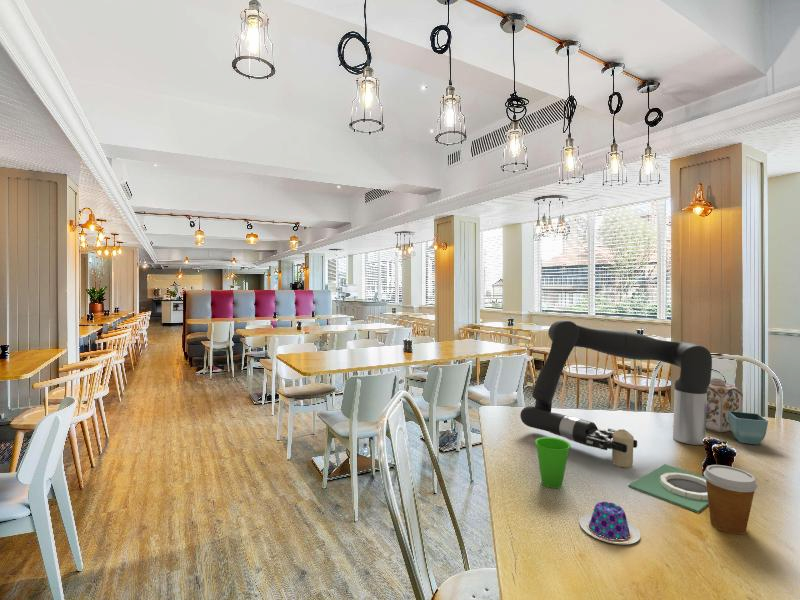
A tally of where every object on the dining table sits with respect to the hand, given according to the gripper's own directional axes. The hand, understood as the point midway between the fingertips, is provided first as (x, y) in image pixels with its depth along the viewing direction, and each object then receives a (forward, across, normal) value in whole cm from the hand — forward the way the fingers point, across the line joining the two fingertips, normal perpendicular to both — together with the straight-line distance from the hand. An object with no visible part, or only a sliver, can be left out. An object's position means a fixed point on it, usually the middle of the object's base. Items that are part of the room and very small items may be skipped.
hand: (631, 446), depth 126 cm
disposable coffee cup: (+27, -14, +6) cm, 31 cm away
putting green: (+13, -2, +6) cm, 15 cm away
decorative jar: (+1, +63, +6) cm, 63 cm away
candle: (-3, 0, +6) cm, 7 cm away
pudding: (+13, -37, +7) cm, 39 cm away
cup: (-8, -28, +6) cm, 30 cm away
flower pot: (+13, +53, +6) cm, 55 cm away
